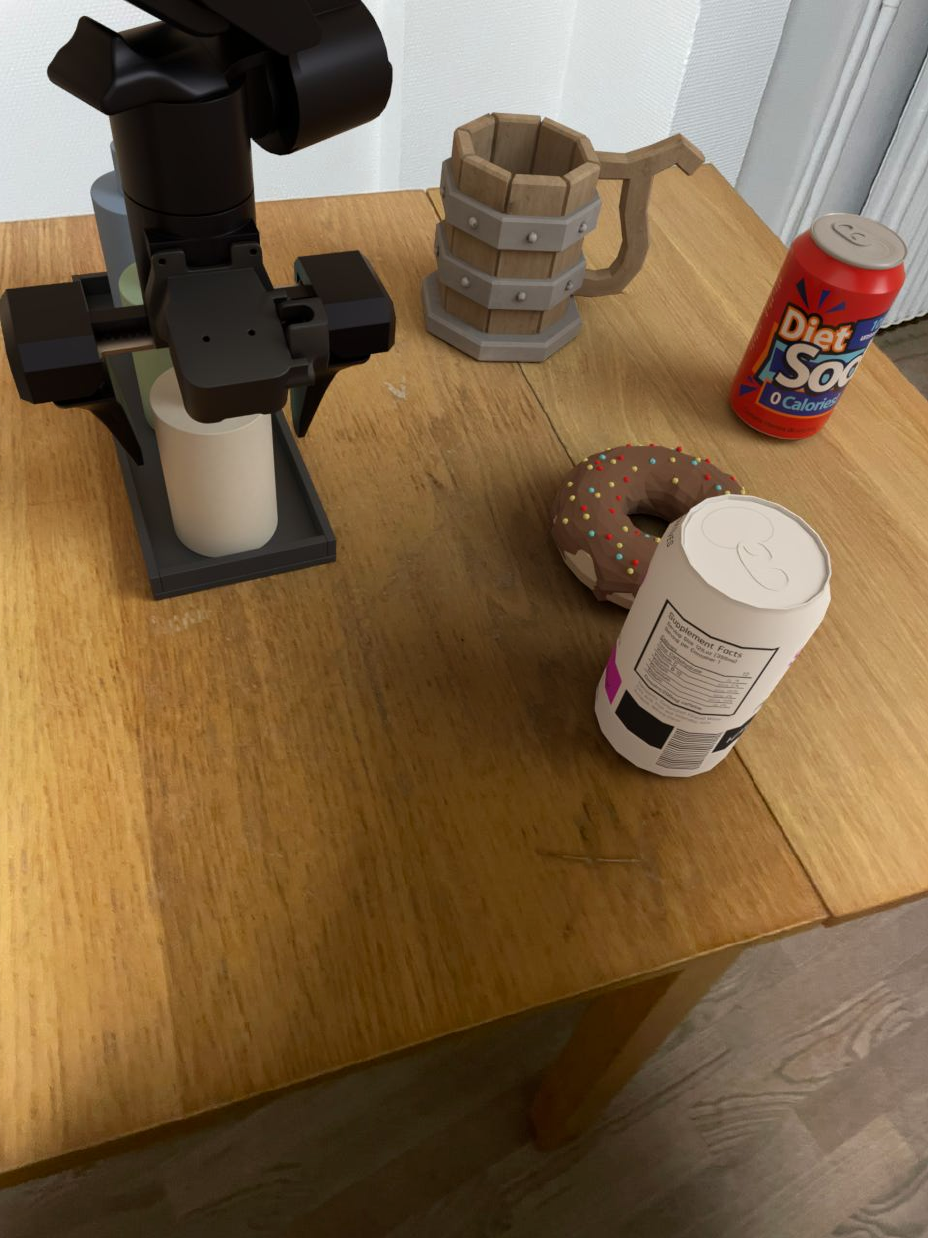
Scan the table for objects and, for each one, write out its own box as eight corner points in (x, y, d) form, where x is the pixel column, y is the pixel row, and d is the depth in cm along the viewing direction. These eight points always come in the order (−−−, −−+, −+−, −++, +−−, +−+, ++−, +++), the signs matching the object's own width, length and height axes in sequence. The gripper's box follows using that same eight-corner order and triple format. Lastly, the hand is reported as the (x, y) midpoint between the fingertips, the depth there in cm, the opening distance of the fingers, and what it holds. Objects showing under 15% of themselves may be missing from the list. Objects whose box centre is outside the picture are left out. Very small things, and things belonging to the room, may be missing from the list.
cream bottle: (185, 568, 55) (152, 396, 45) (164, 495, 58) (129, 320, 48) (289, 546, 57) (280, 377, 47) (263, 477, 60) (250, 305, 50)
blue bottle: (125, 349, 67) (88, 173, 56) (110, 298, 70) (73, 124, 60) (213, 337, 69) (193, 165, 58) (194, 289, 72) (172, 118, 62)
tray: (154, 601, 54) (149, 579, 52) (76, 299, 70) (71, 274, 69) (336, 561, 57) (336, 539, 56) (222, 282, 74) (219, 258, 72)
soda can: (773, 372, 75) (855, 197, 64) (842, 430, 72) (943, 255, 60) (704, 398, 72) (777, 218, 60) (772, 459, 69) (864, 281, 57)
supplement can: (569, 680, 54) (636, 502, 42) (687, 649, 56) (782, 472, 45) (630, 800, 50) (724, 638, 38) (756, 760, 52) (881, 597, 40)
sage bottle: (154, 448, 61) (119, 272, 51) (136, 388, 64) (100, 212, 54) (249, 432, 63) (234, 260, 53) (227, 375, 66) (209, 202, 56)
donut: (640, 667, 55) (664, 617, 51) (505, 523, 61) (518, 468, 57) (793, 576, 61) (825, 526, 57) (657, 454, 67) (677, 400, 63)
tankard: (431, 361, 71) (452, 170, 59) (416, 269, 78) (431, 83, 67) (673, 366, 74) (739, 186, 63) (636, 277, 82) (688, 102, 70)
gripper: (-23, 315, 33) (72, 585, 46) (448, 259, 39) (420, 512, 52) (-47, 164, 39) (43, 439, 52) (366, 135, 45) (358, 388, 57)
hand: (221, 446), depth 53 cm, fingers open, 9 cm apart
